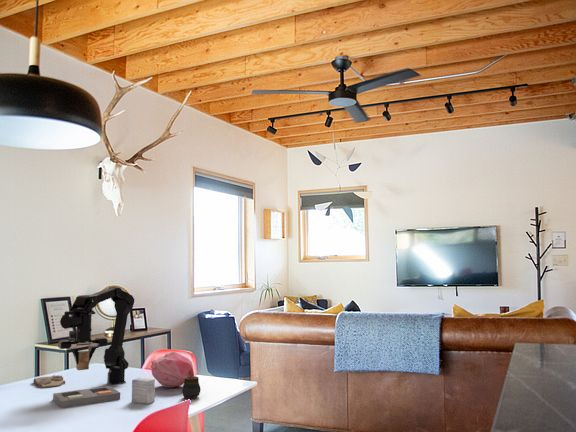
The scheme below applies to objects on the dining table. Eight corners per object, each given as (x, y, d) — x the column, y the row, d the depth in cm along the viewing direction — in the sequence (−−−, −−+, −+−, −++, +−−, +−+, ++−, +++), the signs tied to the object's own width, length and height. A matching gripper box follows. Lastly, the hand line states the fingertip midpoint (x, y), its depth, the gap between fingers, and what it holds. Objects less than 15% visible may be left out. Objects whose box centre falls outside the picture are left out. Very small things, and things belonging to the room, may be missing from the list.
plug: (86, 367, 224) (86, 350, 224) (88, 369, 221) (89, 352, 221) (76, 368, 222) (76, 351, 222) (78, 370, 218) (79, 353, 219)
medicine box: (154, 401, 208) (155, 379, 209) (147, 404, 204) (147, 381, 205) (138, 399, 212) (139, 377, 212) (131, 402, 208) (131, 379, 208)
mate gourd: (184, 400, 209) (185, 375, 210) (179, 396, 216) (179, 371, 217) (202, 398, 213) (202, 373, 214) (196, 394, 219) (197, 369, 220)
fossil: (57, 379, 247) (57, 372, 247) (67, 386, 235) (68, 378, 235) (31, 383, 240) (31, 375, 240) (40, 390, 228) (41, 381, 228)
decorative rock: (194, 382, 241) (194, 348, 242) (193, 390, 227) (194, 354, 228) (151, 383, 237) (151, 349, 239) (148, 391, 223) (148, 355, 225)
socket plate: (109, 391, 223) (109, 384, 223) (120, 399, 212) (120, 391, 212) (53, 399, 210) (53, 391, 210) (61, 408, 199) (61, 399, 199)
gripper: (101, 322, 234) (100, 358, 233) (56, 325, 224) (54, 363, 223) (108, 325, 225) (107, 362, 224) (61, 328, 215) (60, 367, 213)
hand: (82, 363), depth 221 cm, fingers closed on plug, 4 cm apart
